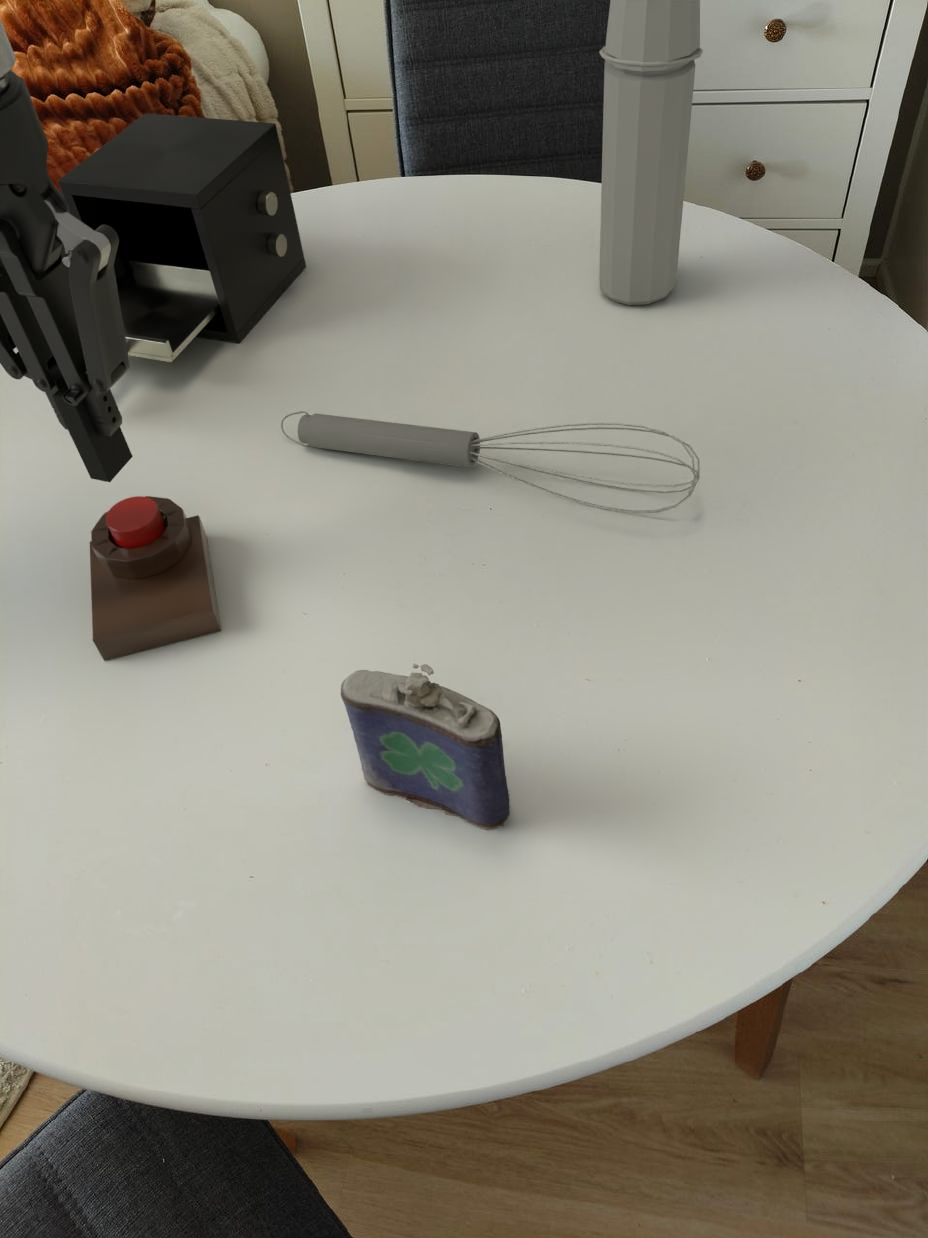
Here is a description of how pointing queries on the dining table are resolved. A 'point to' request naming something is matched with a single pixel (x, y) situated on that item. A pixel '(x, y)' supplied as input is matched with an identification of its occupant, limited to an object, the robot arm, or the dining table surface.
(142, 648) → the brown boxy piece
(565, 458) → the dining table surface
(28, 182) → the robot arm
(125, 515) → the button
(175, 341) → the tray
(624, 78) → the water bottle
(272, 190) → the oven
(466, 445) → the kitchen whisk
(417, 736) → the flask
